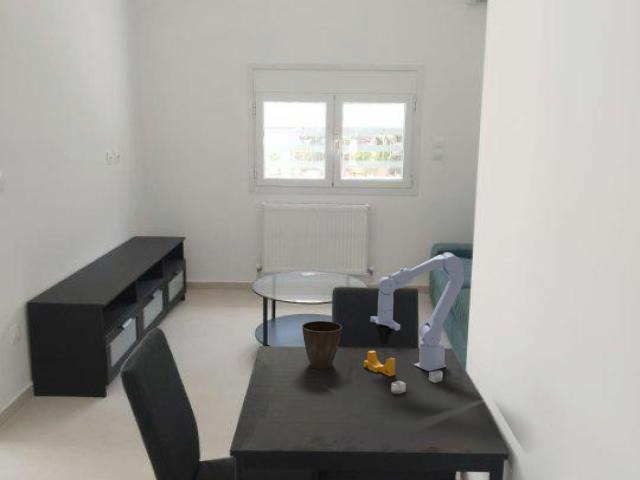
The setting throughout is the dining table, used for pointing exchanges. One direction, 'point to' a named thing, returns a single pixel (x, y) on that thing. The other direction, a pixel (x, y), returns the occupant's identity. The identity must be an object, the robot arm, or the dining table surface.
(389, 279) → the robot arm
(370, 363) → the pipe clamp
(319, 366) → the plant pot
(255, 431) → the dining table surface
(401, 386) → the chain ends
